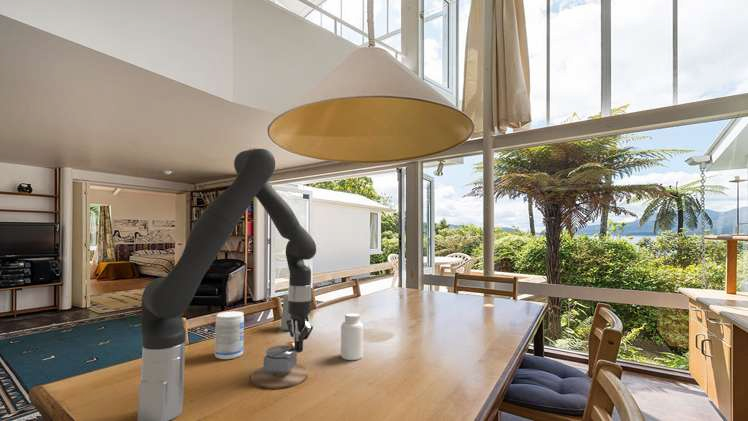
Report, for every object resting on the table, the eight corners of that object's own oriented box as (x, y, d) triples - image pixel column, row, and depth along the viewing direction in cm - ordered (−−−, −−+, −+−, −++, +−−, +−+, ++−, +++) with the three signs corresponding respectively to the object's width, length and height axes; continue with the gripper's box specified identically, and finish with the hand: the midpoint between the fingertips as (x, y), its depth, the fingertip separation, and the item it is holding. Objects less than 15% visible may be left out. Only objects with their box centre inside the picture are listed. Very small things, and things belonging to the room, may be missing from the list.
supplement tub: (246, 357, 129) (247, 315, 129) (217, 362, 123) (218, 318, 124) (239, 349, 137) (240, 309, 137) (212, 353, 132) (213, 312, 132)
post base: (301, 389, 104) (302, 368, 104) (242, 388, 104) (243, 367, 104) (312, 366, 121) (312, 348, 122) (261, 365, 122) (262, 347, 122)
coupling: (288, 373, 108) (288, 355, 108) (260, 371, 109) (261, 353, 109) (303, 357, 121) (304, 341, 122) (279, 355, 123) (280, 339, 123)
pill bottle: (351, 351, 136) (351, 311, 137) (367, 356, 131) (368, 314, 132) (335, 357, 130) (336, 314, 131) (352, 362, 125) (353, 318, 126)
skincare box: (280, 329, 163) (281, 294, 164) (288, 325, 170) (289, 291, 170) (297, 331, 160) (298, 295, 161) (305, 327, 167) (305, 292, 168)
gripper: (320, 300, 118) (319, 354, 117) (298, 294, 127) (297, 344, 126) (300, 303, 113) (299, 360, 112) (279, 296, 122) (278, 349, 121)
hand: (298, 351), depth 119 cm, fingers closed
